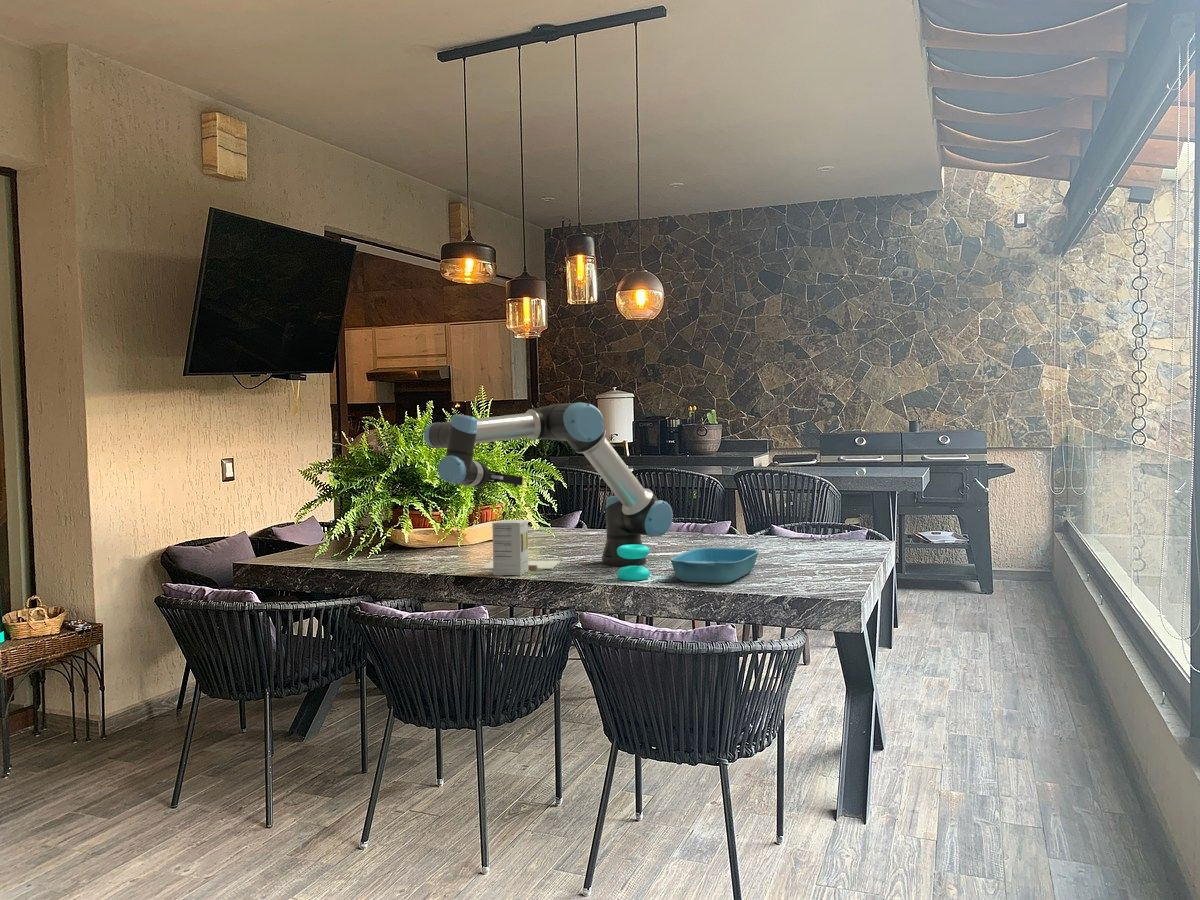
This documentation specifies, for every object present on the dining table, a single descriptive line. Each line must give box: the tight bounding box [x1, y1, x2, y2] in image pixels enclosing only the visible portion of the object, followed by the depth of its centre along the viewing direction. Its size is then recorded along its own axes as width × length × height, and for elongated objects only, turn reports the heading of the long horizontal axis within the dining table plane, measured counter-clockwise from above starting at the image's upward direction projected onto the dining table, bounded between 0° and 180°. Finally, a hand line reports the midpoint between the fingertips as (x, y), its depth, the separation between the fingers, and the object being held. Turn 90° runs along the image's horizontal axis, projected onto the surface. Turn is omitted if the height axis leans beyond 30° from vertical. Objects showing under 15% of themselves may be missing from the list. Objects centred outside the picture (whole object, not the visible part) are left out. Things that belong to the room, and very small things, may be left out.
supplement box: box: [491, 519, 529, 576], centre depth 300 cm, size 10×9×17 cm
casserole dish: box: [669, 546, 760, 584], centre depth 290 cm, size 37×22×7 cm, turn 156°
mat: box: [480, 560, 561, 571], centre depth 315 cm, size 24×17×2 cm
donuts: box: [616, 544, 651, 582], centre depth 287 cm, size 10×10×10 cm
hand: (502, 479), depth 294 cm, fingers open, 13 cm apart
